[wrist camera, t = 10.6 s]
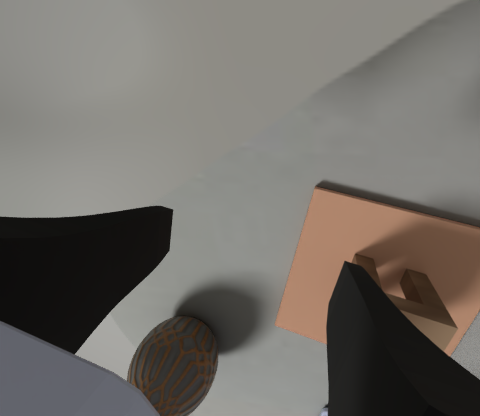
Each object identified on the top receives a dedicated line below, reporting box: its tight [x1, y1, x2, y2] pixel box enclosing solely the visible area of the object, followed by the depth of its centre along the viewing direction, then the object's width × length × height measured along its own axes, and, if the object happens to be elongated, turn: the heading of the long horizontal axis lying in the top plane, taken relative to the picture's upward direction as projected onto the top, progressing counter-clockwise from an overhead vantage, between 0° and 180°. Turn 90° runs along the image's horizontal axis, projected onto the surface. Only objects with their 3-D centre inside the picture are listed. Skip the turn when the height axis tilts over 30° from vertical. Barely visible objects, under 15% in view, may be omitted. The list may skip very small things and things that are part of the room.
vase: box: [127, 316, 218, 416], centre depth 23 cm, size 7×7×9 cm
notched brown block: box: [351, 254, 458, 351], centre depth 17 cm, size 4×4×5 cm
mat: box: [275, 186, 480, 356], centre depth 20 cm, size 12×12×1 cm
